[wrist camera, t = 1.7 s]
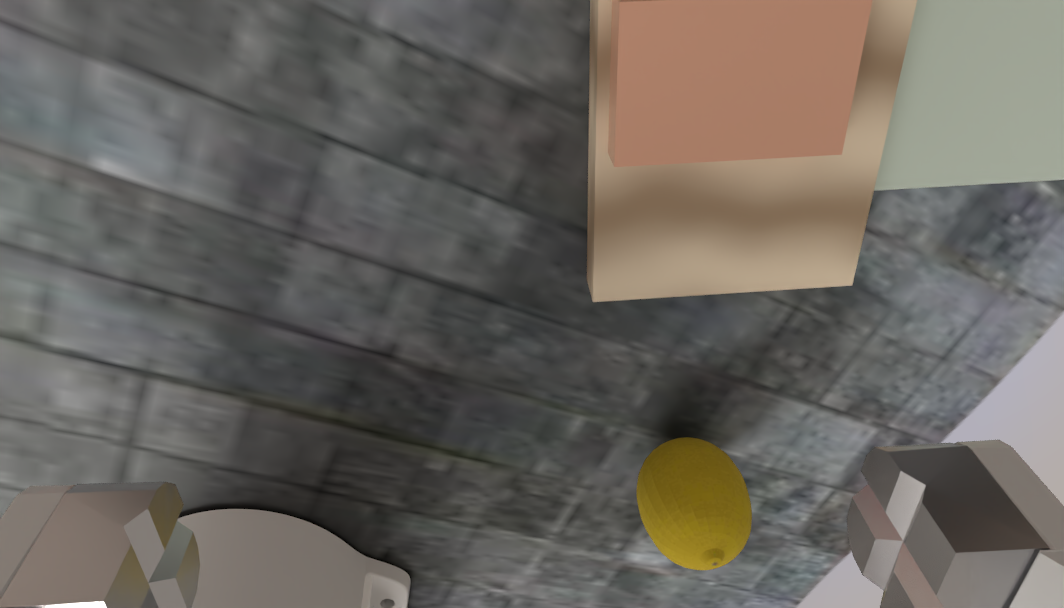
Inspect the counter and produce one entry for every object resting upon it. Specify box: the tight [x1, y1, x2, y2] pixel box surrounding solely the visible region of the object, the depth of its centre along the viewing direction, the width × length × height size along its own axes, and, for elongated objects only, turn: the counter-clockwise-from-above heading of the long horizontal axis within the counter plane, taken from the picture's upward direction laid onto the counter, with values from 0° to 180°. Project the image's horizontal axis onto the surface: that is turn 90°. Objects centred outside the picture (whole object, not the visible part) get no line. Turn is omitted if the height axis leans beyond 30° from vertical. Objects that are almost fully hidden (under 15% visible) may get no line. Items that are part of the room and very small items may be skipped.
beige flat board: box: [587, 0, 917, 302], centre depth 30 cm, size 20×12×2 cm, turn 2°
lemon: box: [637, 437, 752, 570], centre depth 38 cm, size 6×6×8 cm
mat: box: [874, 0, 1064, 191], centre depth 31 cm, size 14×12×1 cm
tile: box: [608, 0, 872, 167], centre depth 28 cm, size 6×9×2 cm, turn 92°
